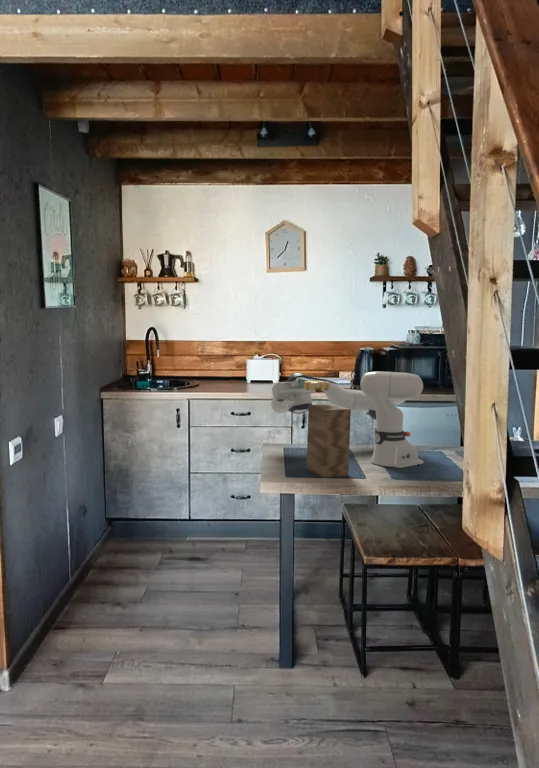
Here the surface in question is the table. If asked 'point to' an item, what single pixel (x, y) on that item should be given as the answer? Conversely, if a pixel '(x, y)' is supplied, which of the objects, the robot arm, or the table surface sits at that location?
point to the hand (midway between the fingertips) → (303, 380)
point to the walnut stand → (328, 440)
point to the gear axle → (314, 384)
